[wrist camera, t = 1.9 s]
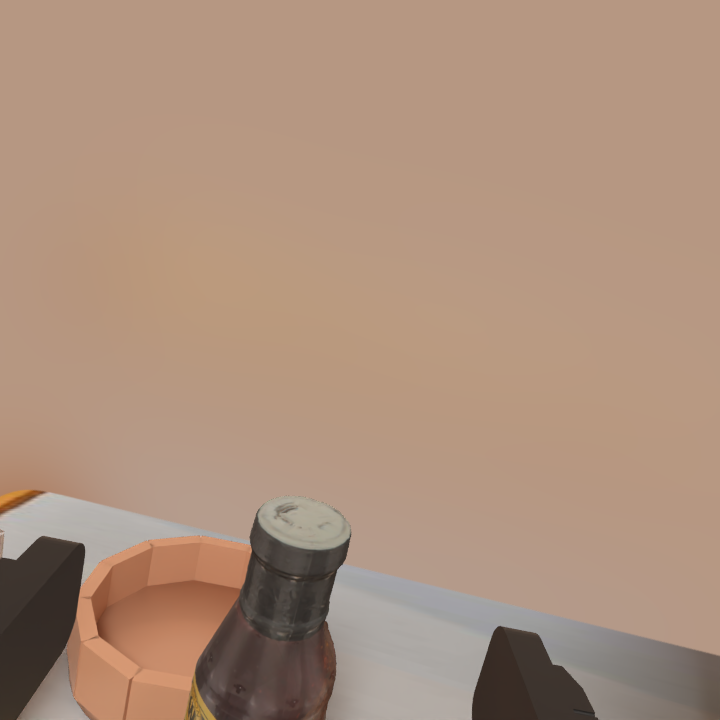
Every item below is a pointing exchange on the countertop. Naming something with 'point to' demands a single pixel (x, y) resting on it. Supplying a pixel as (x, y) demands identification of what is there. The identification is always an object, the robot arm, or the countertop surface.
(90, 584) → the terracotta bowl
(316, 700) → the sauce bottle
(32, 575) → the robot arm
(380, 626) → the countertop surface
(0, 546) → the milk carton
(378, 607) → the countertop surface
